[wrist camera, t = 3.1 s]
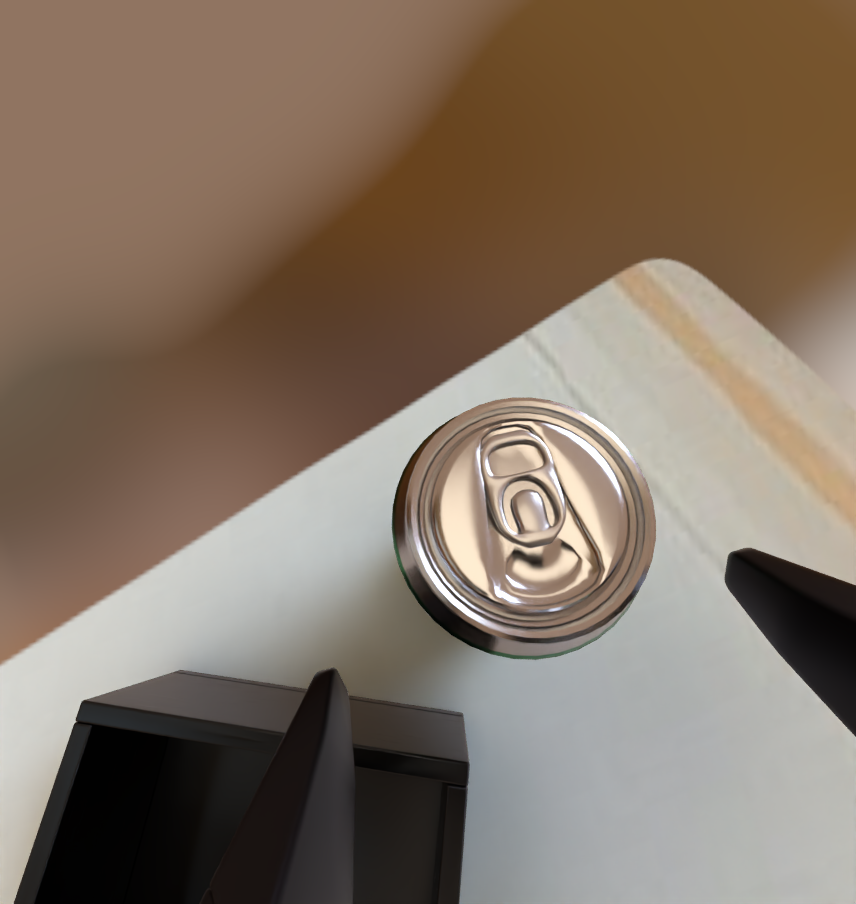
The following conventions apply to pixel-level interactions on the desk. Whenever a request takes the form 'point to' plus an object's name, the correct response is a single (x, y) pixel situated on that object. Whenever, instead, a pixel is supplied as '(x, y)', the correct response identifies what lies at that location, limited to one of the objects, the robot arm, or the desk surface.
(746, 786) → the desk surface
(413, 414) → the desk surface
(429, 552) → the soda can
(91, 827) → the open black square box
